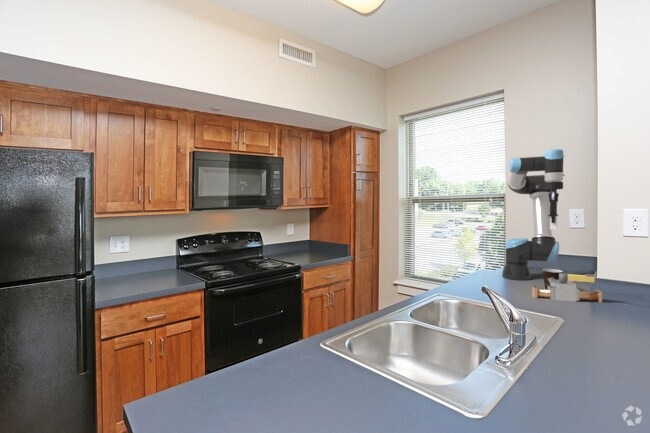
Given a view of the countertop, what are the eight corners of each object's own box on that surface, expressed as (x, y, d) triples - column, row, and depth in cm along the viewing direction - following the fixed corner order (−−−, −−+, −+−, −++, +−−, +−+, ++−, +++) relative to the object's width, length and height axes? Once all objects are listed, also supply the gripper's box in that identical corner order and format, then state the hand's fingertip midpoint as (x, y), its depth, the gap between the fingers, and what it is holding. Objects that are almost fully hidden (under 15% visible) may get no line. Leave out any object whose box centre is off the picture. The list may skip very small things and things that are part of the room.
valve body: (531, 294, 164) (531, 278, 164) (595, 298, 155) (596, 281, 155) (535, 299, 157) (535, 282, 157) (603, 303, 148) (603, 285, 148)
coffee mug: (538, 288, 174) (538, 269, 173) (548, 286, 177) (549, 268, 177) (562, 294, 163) (562, 274, 163) (572, 291, 167) (573, 272, 166)
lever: (559, 281, 155) (559, 273, 155) (558, 280, 158) (558, 272, 158) (594, 284, 150) (594, 275, 149) (592, 282, 153) (592, 274, 152)
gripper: (562, 180, 155) (562, 230, 156) (563, 181, 165) (563, 228, 167) (543, 181, 160) (543, 230, 161) (545, 182, 170) (545, 227, 171)
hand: (553, 229), depth 164 cm, fingers closed
